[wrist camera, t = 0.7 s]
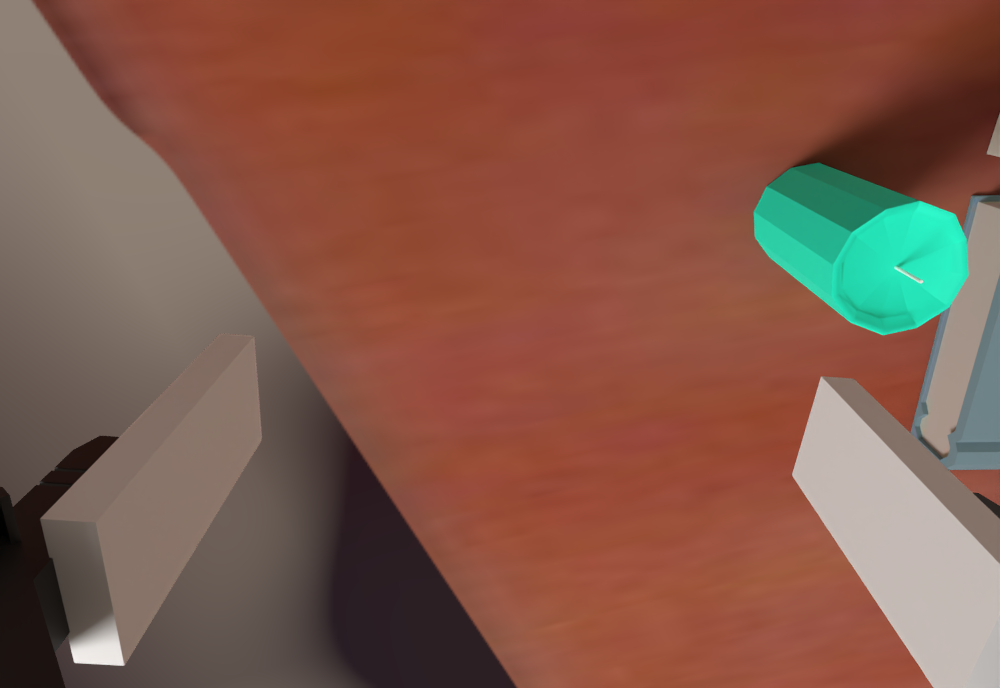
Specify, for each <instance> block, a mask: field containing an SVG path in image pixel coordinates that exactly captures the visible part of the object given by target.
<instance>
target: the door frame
mask: <svg viewBox="0 0 1000 688" xmlns="http://www.w3.org/2000/svg"><path fill="white" fill-rule="evenodd" d="M987 154H989V155H993V156H997V157H1000V114H999V117H998V120H997V123H996V126H995V129H994V132H993V135H992V138H991V141H990V145H989V148H988V151H987Z"/></svg>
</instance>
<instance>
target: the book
mask: <svg viewBox="0 0 1000 688" xmlns="http://www.w3.org/2000/svg"><path fill="white" fill-rule="evenodd" d="M963 233H964V235H965V237H966V239H967V254H968V272H969V276H968V277H967V279H966V281H965V282H964V284H963V286H962V287H961V289H960V291H959V292H958V294H957V296H956V297H955V299H954V300H953V302H952V304H951V305H950V307H949V308H948V309H946V310H944V311H943V312H941V316H940V320H939V324H938V328H937V332H936V336H935V340H934V344H933V347H932V351H931V355H930V359H929V363H928V367H927V371H926V375H925V378H924V382H923V386H922V390H921V394H920V398H919V402H918V406H917V410H916V413H915V417H914V421H913V425H912V429H911V434H912V435H913V436H914V437H915V438H916V439H917V440H918V441H919V442H920V443H921V444H922V445H923V446H924V447H925V448H926V449H927V450H928V451H929V452H930V453H931V454H932V455H934V456H935V457H936V458H937V459H938V460H939V461H940V462H941V463H942V464H943V465H944V466H945V467H946V468H947V469H948V470H983V469H1000V195H972V196H971V200H970V204H969V208H968V211H967V215H966V219H965V223H964V227H963Z"/></svg>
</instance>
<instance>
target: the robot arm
mask: <svg viewBox="0 0 1000 688" xmlns="http://www.w3.org/2000/svg"><path fill="white" fill-rule="evenodd" d="M261 440H262V433H261V421H260V406H259V392H258V379H257V365H256V352H255V339H254V336H249V335H236V334H220V335H218V337H217V338H216V339H215V340H214V341H213V342H212V343H211V344H210V345H209V346H208V347H207V348H206V349H205V350H204V351H203V352H202V353H201V354H200V355H199V356H198V357H197V358H196V359H195V360H194V361H193V362H192V363H191V364H190V365H189V366H188V367H187V368H186V370H184V371H183V372H182V373H181V375H180V376H179V377H178V378H177V379H176V380H175V381H174V382H173V383H172V384H171V385H170V386H169V387H168V388H167V389H166V390H165V391H164V392H163V393H162V394H161V395H160V396H159V397H158V398H157V399H156V400H155V401H154V402H153V403H152V404H151V405H150V406H149V407H148V408H147V409H146V411H145V412H144V413H143V414H142V415H141V416H140V417H139V418H138V419H137V420H136V421H135V422H134V423H133V424H132V425H131V426H130V427H129V428H128V429H127V430H126V431H125V432H124V433H123V434H122V435H121V436H120V437H111V436H99V437H97V438H95V439H93V440H91V441H90V442H88V443H86V444H84V445H82V446H80V447H78V448H76V449H74V450H73V451H72V452H71V453H70V454H69V455H67V456H66V457H65V458H64V459H63V460H62V461H61V462H60V463H59V464H58V465H57V466H56V467H55V471H51V472H50V473H49V474H48V475H46V476H45V477H44V478H43V479H42V480H41V481H40V485H36V486H35V487H34V488H33V489H32V490H31V491H30V492H29V493H27V494H26V495H25V496H24V497H23V498H22V499H21V500H20V501H19V502H18V503H17V504H16V505H15V506H14V507H12V503H11V499H10V495H9V494H8V493H7V492H6V491H5V489H4V488H3V487H0V688H65V685H64V682H63V678H62V675H61V671H60V669H59V665H58V662H57V658H56V655H55V652H56V650H57V649H58V648H59V646H60V645H61V644H62V642H63V641H64V640H65V638H66V636H67V635H68V638H69V642H70V646H71V651H72V655H73V659H74V663H88V664H104V665H121V666H124V665H125V664H126V662H127V660H128V658H129V657H130V655H131V654H132V652H133V651H134V649H135V647H136V646H137V644H138V642H139V641H140V639H141V637H142V636H143V634H144V632H145V631H146V629H147V627H148V626H149V624H150V622H151V621H152V619H153V618H154V616H155V614H156V613H157V611H158V609H159V608H160V606H161V605H162V603H163V601H164V600H165V598H166V596H167V595H168V593H169V591H170V590H171V588H172V586H173V585H174V583H175V581H176V580H177V578H178V577H179V575H180V573H181V572H182V570H183V568H184V567H185V565H186V563H187V562H188V560H189V559H190V557H191V555H192V554H193V552H194V550H195V549H196V547H197V545H198V544H199V542H200V540H201V539H202V537H203V535H204V534H205V532H206V530H207V529H208V527H209V526H210V524H211V522H212V521H213V519H214V517H215V516H216V514H217V513H218V511H219V509H220V508H221V506H222V504H223V502H224V501H225V499H226V498H227V496H228V494H229V493H230V491H231V489H232V488H233V486H234V485H235V482H236V481H237V480H238V478H239V476H240V475H241V473H242V471H243V470H244V468H245V466H246V465H247V463H248V461H249V460H250V458H251V457H252V455H253V453H254V452H255V450H256V448H257V447H258V445H259V443H260V442H261ZM792 476H793V478H794V479H795V481H796V482H797V484H798V485H799V487H800V488H801V490H802V491H803V493H804V494H805V496H806V497H807V499H808V500H809V502H810V503H811V505H812V506H813V508H814V509H815V511H816V512H817V514H818V515H819V517H820V518H821V520H822V521H823V523H824V524H825V526H826V527H827V529H828V530H829V532H830V533H831V535H832V536H833V538H834V539H835V541H836V542H837V544H838V545H839V547H840V548H841V550H842V551H843V553H844V554H845V556H846V557H847V559H848V560H849V562H850V563H851V565H852V566H853V568H854V569H855V571H856V572H857V574H858V575H859V577H860V578H861V580H862V581H863V583H864V584H865V586H866V587H867V589H868V590H869V592H870V593H871V595H872V596H873V598H874V599H875V601H876V602H877V604H878V605H879V607H880V608H881V610H882V611H883V613H884V614H885V616H886V617H887V619H888V620H889V622H890V623H891V625H892V626H893V628H894V629H895V631H896V632H897V634H898V635H899V637H900V638H901V640H902V641H903V643H904V644H905V646H906V647H907V649H908V650H909V652H910V653H911V655H912V656H913V658H914V659H915V661H916V662H917V664H918V665H919V667H920V668H921V670H922V671H923V673H924V674H925V676H926V677H927V679H928V680H929V682H930V683H931V685H932V686H933V688H1000V506H999V505H997V504H995V503H994V502H992V501H990V500H989V499H987V498H986V497H984V496H982V495H981V494H979V493H972V492H971V491H970V490H969V489H968V488H967V487H966V486H965V485H964V484H963V483H962V482H961V481H960V480H959V479H957V478H956V477H955V476H954V475H953V474H952V473H951V472H950V471H949V470H948V469H947V468H946V467H945V466H944V465H943V464H942V463H941V462H940V461H939V460H938V459H937V458H936V457H935V456H934V455H932V454H931V453H930V452H929V451H928V450H927V449H926V448H925V447H924V446H923V445H922V444H921V443H920V442H919V441H918V440H917V439H916V438H915V437H914V436H913V435H912V434H911V433H910V432H909V431H908V430H906V429H905V428H904V427H903V426H902V425H901V424H900V423H899V422H898V421H897V420H896V419H895V418H894V417H893V416H892V415H891V414H890V413H889V412H888V411H887V410H886V409H885V408H884V407H883V406H881V405H880V404H879V403H878V402H877V401H876V400H875V399H874V398H873V397H872V396H871V395H870V394H869V393H868V392H867V391H866V390H865V389H864V388H863V387H862V386H861V385H860V384H859V383H858V382H856V381H855V380H854V379H850V378H836V377H822V376H821V379H820V382H819V386H818V389H817V393H816V396H815V399H814V403H813V406H812V410H811V413H810V416H809V420H808V423H807V426H806V430H805V433H804V437H803V440H802V443H801V447H800V450H799V453H798V457H797V460H796V464H795V467H794V470H793V474H792Z"/></svg>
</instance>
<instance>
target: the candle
mask: <svg viewBox="0 0 1000 688" xmlns="http://www.w3.org/2000/svg"><path fill="white" fill-rule="evenodd" d="M754 224H755V238H756V240H757V241H758V242H759V244H760V245H761V247H762V248H763V249H764V251H765V252H766V253H767V255H768V256H769V257H770V258H771V259H772V260H773V261H775V262H776V263H777V264H778V265H780V266H781V267H782V268H783V269H785V270H786V271H787V272H788V273H790V274H791V275H792V276H793V277H795V278H796V279H797V280H798V281H800V282H801V283H802V284H803V285H804V286H806V287H807V288H808V289H809V290H811V291H812V292H813V293H814V294H816V295H817V296H818V297H819V298H821V299H822V300H823V301H824V302H826V303H827V304H828V305H829V306H831V307H832V308H833V309H834V310H836V311H837V312H838V313H839V314H841V315H842V316H843V317H844V318H845V319H847V320H848V321H849V322H850V323H853V324H856V325H858V326H861V327H863V328H866V329H869V330H871V331H874V332H876V333H879V334H882V335H886V334H891V333H895V332H900V331H905V330H909V329H914V328H917V327H919V326H920V325H922V324H924V323H925V322H927V321H928V320H930V319H932V318H933V317H935V316H936V315H938V314H940V313H941V312H943V311H944V310H946V309H948V308H949V307H950V305H951V304H952V302H953V300H954V299H955V297H956V296H957V294H958V292H959V291H960V289H961V287H962V286H963V284H964V282H965V281H966V279H967V277H968V276H969V272H968V254H967V239H966V237H965V235H964V233H963V230H962V228H961V226H960V224H959V222H958V220H957V217H956V215H955V214H953V213H950V212H948V211H945V210H943V209H940V208H937V207H935V206H932V205H929V204H927V203H924V202H921V201H919V200H916V199H913V198H911V197H908V196H906V195H903V194H900V193H898V192H895V191H892V190H890V189H887V188H884V187H882V186H879V185H876V184H874V183H871V182H869V181H866V180H863V179H861V178H858V177H855V176H853V175H850V174H847V173H845V172H842V171H839V170H837V169H834V168H832V167H829V166H826V165H824V164H821V163H814V164H809V165H804V166H798V167H793V168H790V169H789V170H787V171H786V172H785V173H783V174H782V175H781V176H779V177H778V178H777V179H776V180H774V181H773V182H772V183H770V184H769V185H768V186H767V187H766V189H765V191H764V193H763V195H762V197H761V199H760V201H759V203H758V205H757V207H756V209H755V211H754Z"/></svg>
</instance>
